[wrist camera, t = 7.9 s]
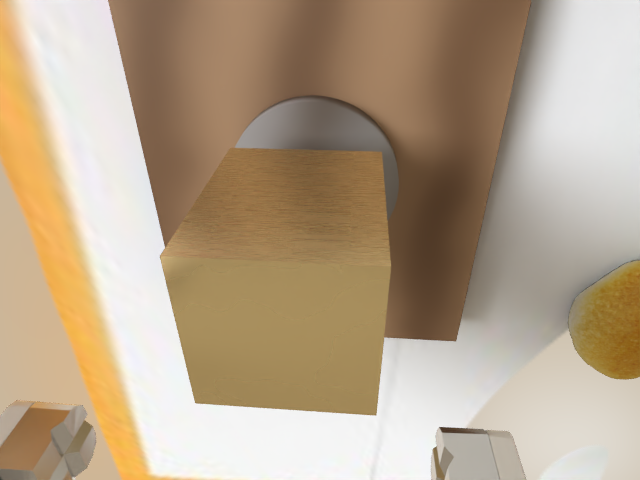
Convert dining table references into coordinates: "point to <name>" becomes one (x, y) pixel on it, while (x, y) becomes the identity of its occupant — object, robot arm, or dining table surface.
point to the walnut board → (337, 113)
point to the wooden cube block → (284, 281)
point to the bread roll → (609, 323)
